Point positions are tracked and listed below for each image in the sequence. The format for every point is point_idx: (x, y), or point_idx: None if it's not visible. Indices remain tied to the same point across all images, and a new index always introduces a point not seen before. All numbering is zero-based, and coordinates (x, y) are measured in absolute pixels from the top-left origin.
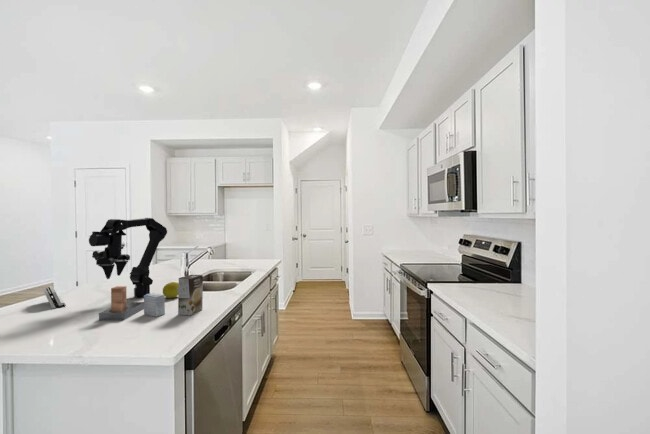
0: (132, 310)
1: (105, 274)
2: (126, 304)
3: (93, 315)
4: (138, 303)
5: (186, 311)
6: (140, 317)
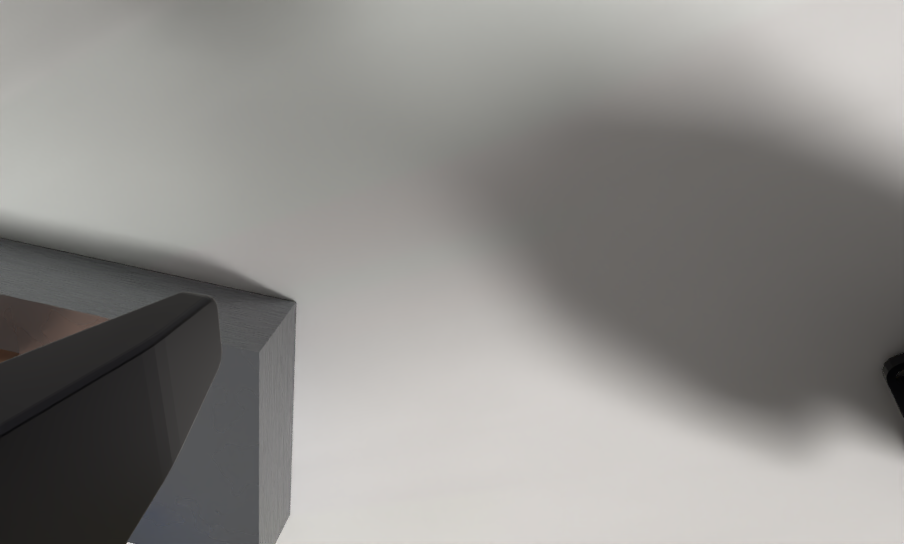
0: None
1: (17, 368)
2: None
3: (9, 58)
4: (200, 535)
5: None
6: None
